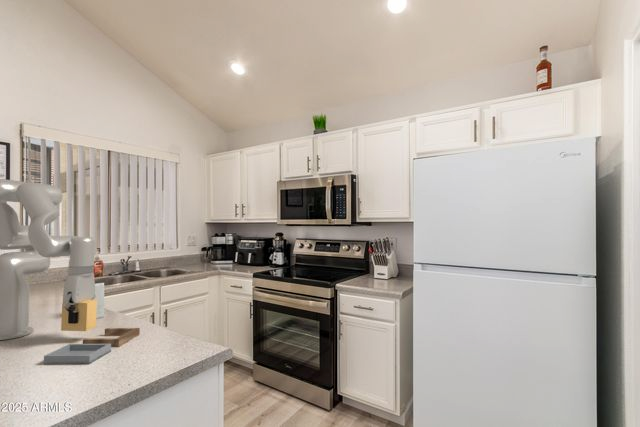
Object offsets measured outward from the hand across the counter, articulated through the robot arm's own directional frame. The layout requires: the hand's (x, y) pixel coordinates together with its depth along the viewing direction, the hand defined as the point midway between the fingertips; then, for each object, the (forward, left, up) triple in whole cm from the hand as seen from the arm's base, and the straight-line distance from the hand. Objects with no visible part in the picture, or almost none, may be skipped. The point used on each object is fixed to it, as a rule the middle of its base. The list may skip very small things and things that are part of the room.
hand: (79, 320), depth 117 cm
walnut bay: (+12, 0, -7) cm, 14 cm away
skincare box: (-15, +31, -8) cm, 35 cm away
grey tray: (+12, -15, -7) cm, 20 cm away
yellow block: (0, 0, -3) cm, 3 cm away
